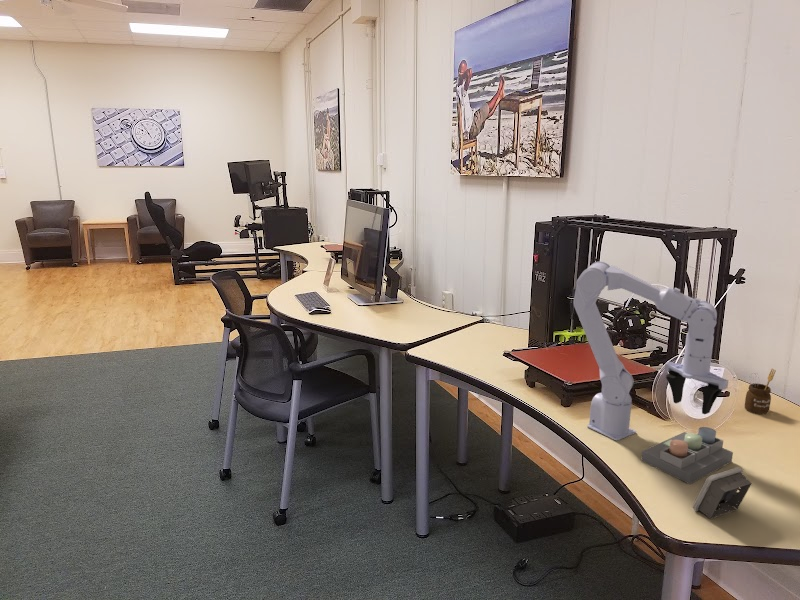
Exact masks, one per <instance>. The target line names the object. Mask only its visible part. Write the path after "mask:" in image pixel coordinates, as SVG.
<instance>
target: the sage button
mask: <svg viewBox="0 0 800 600" xmlns="http://www.w3.org/2000/svg"><path fill="white" fill-rule="evenodd" d="M686 433H687V432H686ZM684 442H686V443H687V444H688V449H691V450H700V449H701V446H702V437H701V436H700V435H698V433H693V432H688V433H687V434H685V439H684Z"/></svg>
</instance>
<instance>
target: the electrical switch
mask: <svg viewBox="0 0 800 600" xmlns="http://www.w3.org/2000/svg"><path fill="white" fill-rule="evenodd" d="M743 472H744V469H743V468H741V467H740V466H735V467H734V468H731V469H727V470H725V471H720V472H717V473H715V474H712V475H709V476H707V478H706V479H705V481H704V484H703V486H702V487H701V489H700V490H699V491H700V492H699V493H698V495H697V496H696V499H695V501H694V503H693V506H692V508H693V510H694V511H695V512H699V511H700V512H702V514H704V515H705V516H706V517H707V518H708V519H709V520H712V519H714V518H718V517H721V516H723V515H726V514H728V513H732V512H734V511H737V510H739V507H740V505H741V504H742V502H743V500H744V498H745V496H746V495H747V493H748V491H749V489H750V487H751V485H752V484H753V482H751V481H750V480H749V479H748V478H747V477H746V476H745V475H744V474H743Z"/></svg>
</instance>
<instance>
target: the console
mask: <svg viewBox="0 0 800 600" xmlns="http://www.w3.org/2000/svg"><path fill="white" fill-rule="evenodd" d="M685 434H687V432H685V431H683V432H680V433H679V434H677V435H675V436H672V437H670V438H668V439H665V440H664V441H662V442H659V443H657V444H654V445H652V446H650V447H648V448H646V449H644V450H642V451H641V457H640V458H641V459H640V461H641V462H643V463H645V464H647V465H649V466H651V467H653V468H656V469H658V470H659V471H662V472H664V473H666V474H668V475H670V476H672V477H674V478H676V479H678V480H680V481H682V482H685V483H686V484H688V485H691V484H693V483H694V482H697V481H698V480H701V479H702V478H705V477H706V476H708V475H710V474H711V473H714V472H715V471H718V470H719V469H721V468H724V467H725V466H727V465H728V464H731V463H732V462H733V455H734V452H733V451H732V450H729V449H726V448H724V446H723V445H724V439H721V438H719V437H717V436H716V437H715V442H714V443H704V442H702V446H701V449H700V450H691V449H688V450H687V456H686V457H676V456H673V455H672V454H670V452H669V450H670V441H671V440H682V441H684V439H685Z"/></svg>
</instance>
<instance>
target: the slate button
mask: <svg viewBox="0 0 800 600" xmlns="http://www.w3.org/2000/svg"><path fill="white" fill-rule="evenodd" d="M697 434H698V435H700V436H701V437H702V442H704V443H714V442H715V437H716V438H717V436H716V435H717V430H715V429H714V428H712V427H708V426H701V427H698V432H697Z"/></svg>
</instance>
